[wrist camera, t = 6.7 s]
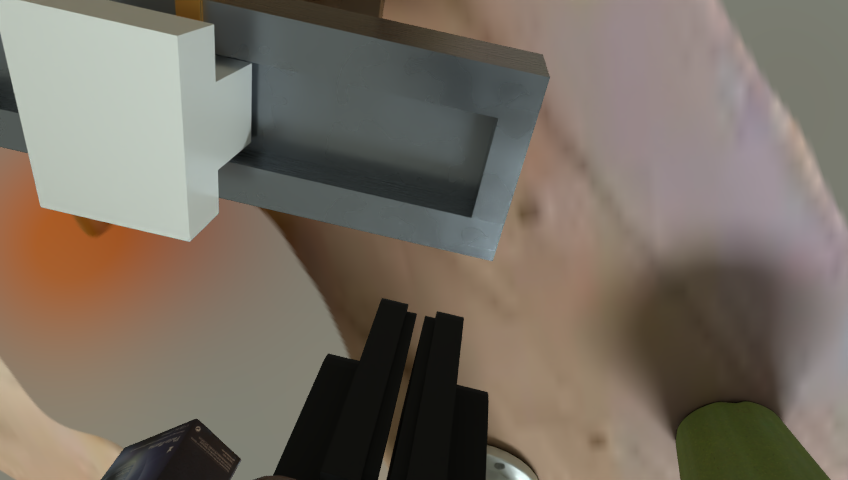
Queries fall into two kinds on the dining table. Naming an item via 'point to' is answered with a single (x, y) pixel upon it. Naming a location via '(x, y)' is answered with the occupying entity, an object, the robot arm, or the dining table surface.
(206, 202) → the rider
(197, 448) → the small box
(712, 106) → the dining table surface
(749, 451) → the plant pot
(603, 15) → the dining table surface
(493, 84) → the balance beam
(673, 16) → the dining table surface
